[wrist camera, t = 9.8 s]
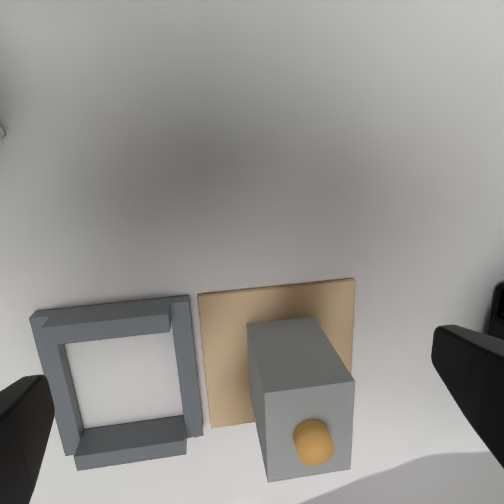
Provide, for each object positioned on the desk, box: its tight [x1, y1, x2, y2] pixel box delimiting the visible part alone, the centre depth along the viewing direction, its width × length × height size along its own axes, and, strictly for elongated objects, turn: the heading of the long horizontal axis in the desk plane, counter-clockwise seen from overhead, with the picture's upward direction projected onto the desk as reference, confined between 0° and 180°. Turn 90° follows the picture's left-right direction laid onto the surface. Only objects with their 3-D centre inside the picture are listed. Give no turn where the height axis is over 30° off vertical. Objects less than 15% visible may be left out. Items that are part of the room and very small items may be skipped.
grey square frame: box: [29, 295, 203, 471], centre depth 21 cm, size 8×9×2 cm
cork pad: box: [198, 279, 355, 428], centre depth 23 cm, size 9×9×1 cm
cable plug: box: [246, 316, 355, 482], centre depth 19 cm, size 4×5×7 cm
